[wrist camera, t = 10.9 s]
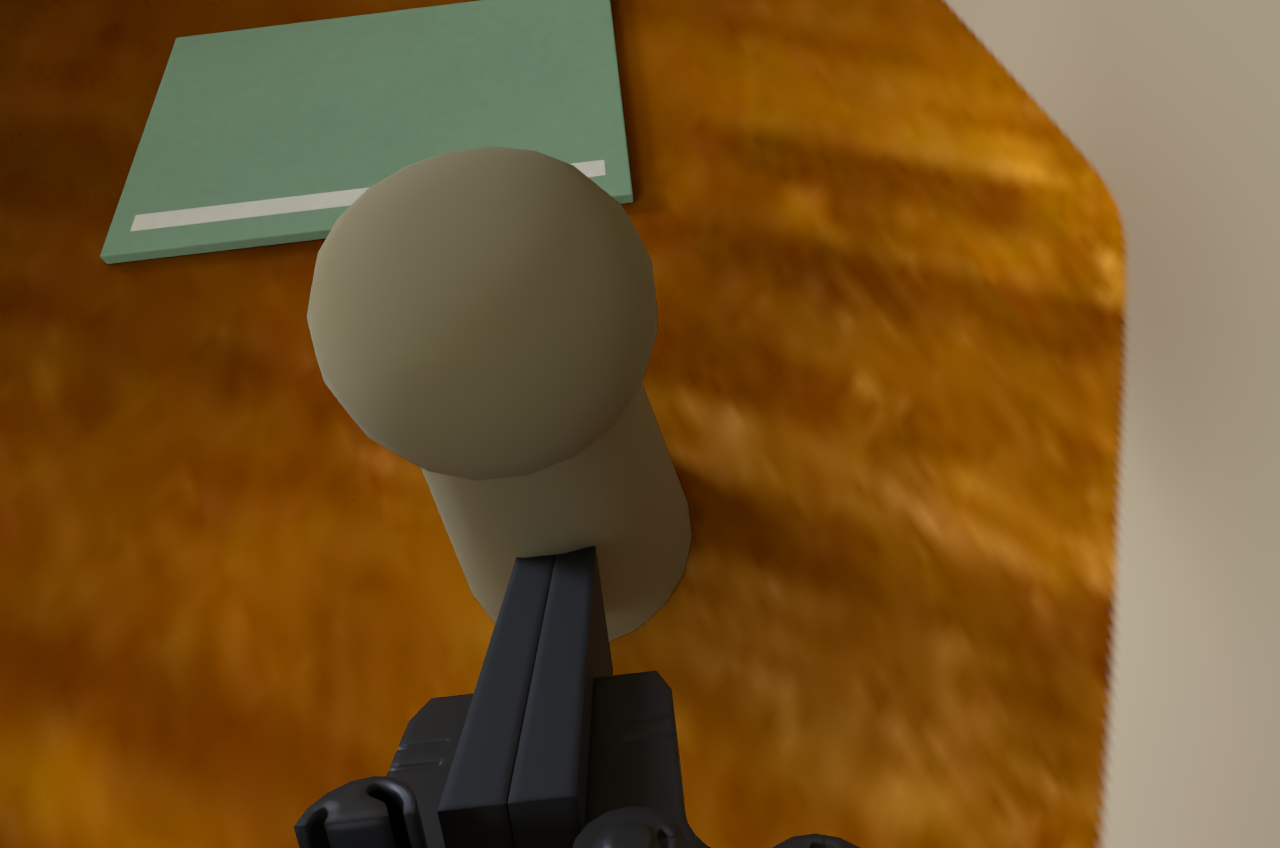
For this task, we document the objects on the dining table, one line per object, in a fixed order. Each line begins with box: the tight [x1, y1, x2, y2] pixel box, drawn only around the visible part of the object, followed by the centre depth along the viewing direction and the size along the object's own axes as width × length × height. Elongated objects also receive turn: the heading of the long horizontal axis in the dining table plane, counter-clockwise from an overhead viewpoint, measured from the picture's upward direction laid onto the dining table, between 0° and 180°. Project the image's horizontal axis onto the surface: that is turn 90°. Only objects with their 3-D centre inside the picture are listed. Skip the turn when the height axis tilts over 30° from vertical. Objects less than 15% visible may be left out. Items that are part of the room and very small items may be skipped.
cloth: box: [100, 0, 634, 264], centre depth 28 cm, size 18×12×1 cm, turn 95°
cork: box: [307, 146, 692, 641], centre depth 15 cm, size 6×6×11 cm
